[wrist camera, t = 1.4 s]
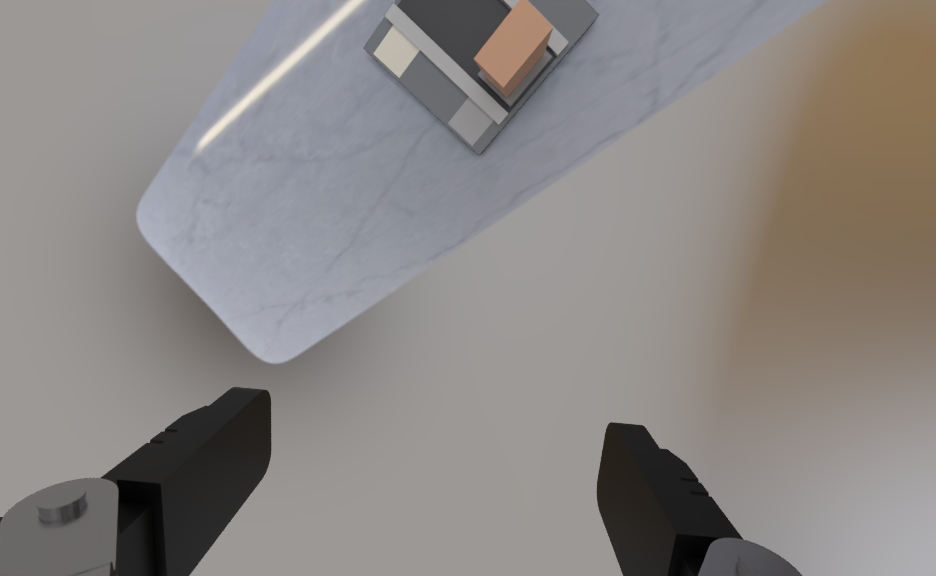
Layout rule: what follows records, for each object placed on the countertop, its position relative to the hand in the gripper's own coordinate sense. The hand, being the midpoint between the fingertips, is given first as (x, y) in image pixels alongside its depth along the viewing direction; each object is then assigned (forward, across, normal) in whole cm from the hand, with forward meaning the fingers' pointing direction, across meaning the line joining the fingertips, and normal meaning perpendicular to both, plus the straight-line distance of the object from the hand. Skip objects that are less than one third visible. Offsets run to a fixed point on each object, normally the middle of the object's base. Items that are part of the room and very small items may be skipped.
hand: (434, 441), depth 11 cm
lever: (+24, -2, -14) cm, 28 cm away
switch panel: (+26, 0, -17) cm, 31 cm away
